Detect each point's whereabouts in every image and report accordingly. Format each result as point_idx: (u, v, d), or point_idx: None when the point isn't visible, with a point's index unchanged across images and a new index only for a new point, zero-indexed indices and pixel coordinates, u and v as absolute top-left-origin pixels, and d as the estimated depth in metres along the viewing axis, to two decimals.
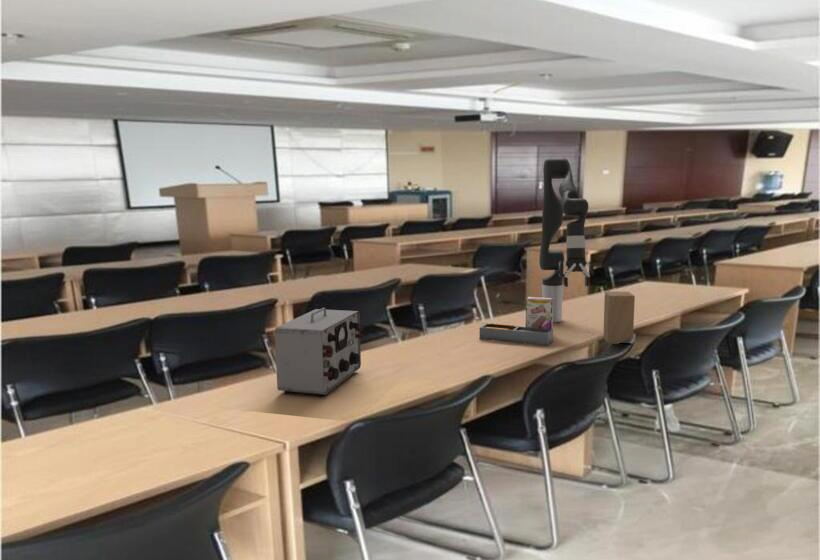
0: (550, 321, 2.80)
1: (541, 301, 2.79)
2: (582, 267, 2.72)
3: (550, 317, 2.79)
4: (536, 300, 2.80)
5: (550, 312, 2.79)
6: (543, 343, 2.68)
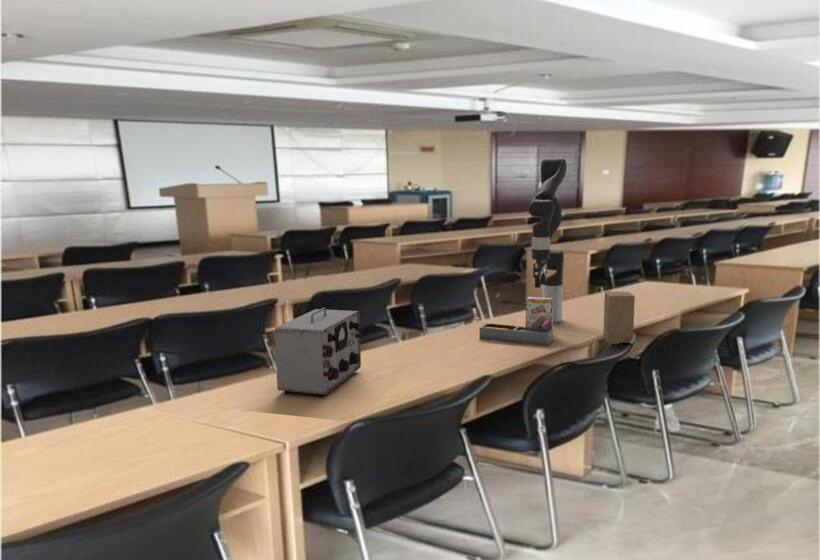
0: (550, 321, 2.80)
1: (541, 301, 2.79)
2: (545, 267, 2.81)
3: (550, 317, 2.79)
4: (536, 300, 2.80)
5: (550, 312, 2.79)
6: (543, 343, 2.68)
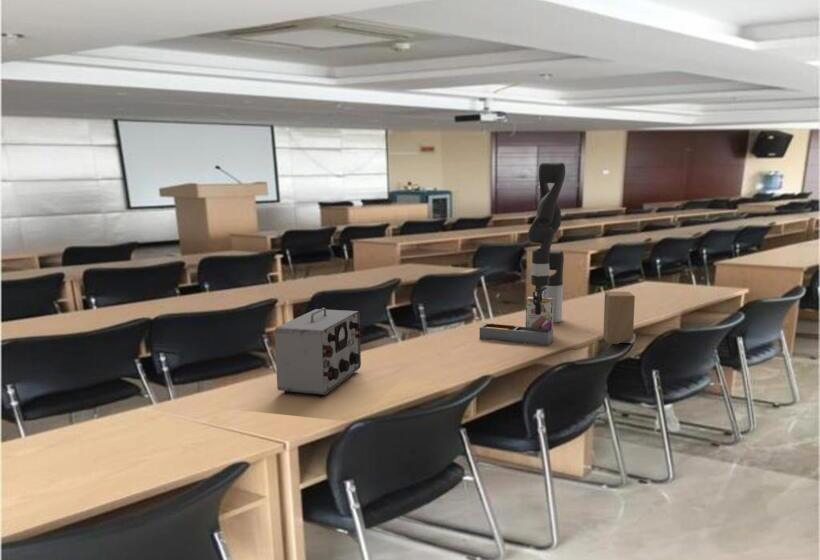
0: (550, 321, 2.80)
1: (541, 301, 2.79)
2: (545, 293, 2.82)
3: (550, 317, 2.79)
4: None
5: (550, 311, 2.79)
6: (543, 343, 2.68)
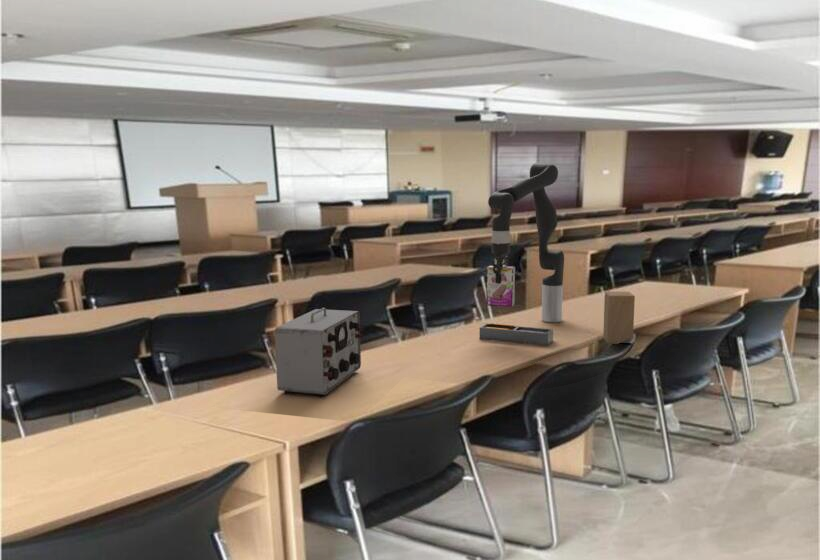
0: (511, 290, 2.74)
1: (502, 269, 2.73)
2: (505, 261, 2.76)
3: (511, 286, 2.73)
4: None
5: (511, 280, 2.73)
6: (543, 343, 2.68)
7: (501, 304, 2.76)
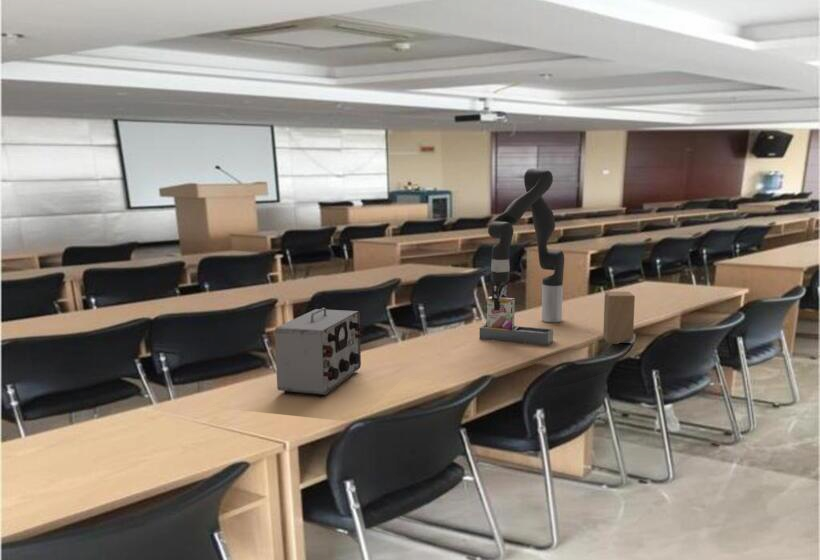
0: (510, 321, 2.76)
1: (501, 301, 2.75)
2: (505, 289, 2.78)
3: (510, 317, 2.75)
4: None
5: (510, 312, 2.75)
6: (543, 343, 2.68)
7: None
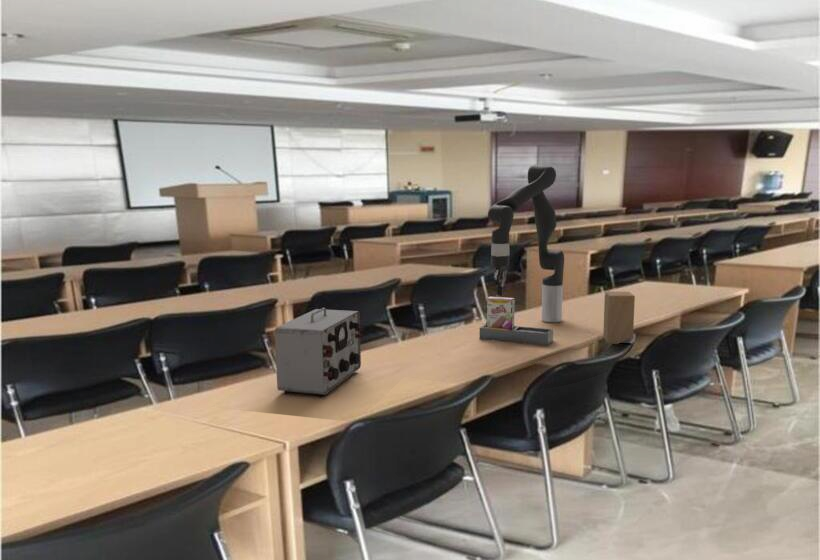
0: (510, 321, 2.76)
1: (501, 301, 2.75)
2: (505, 274, 2.76)
3: (510, 317, 2.75)
4: (496, 300, 2.76)
5: (510, 312, 2.75)
6: (543, 343, 2.68)
7: None
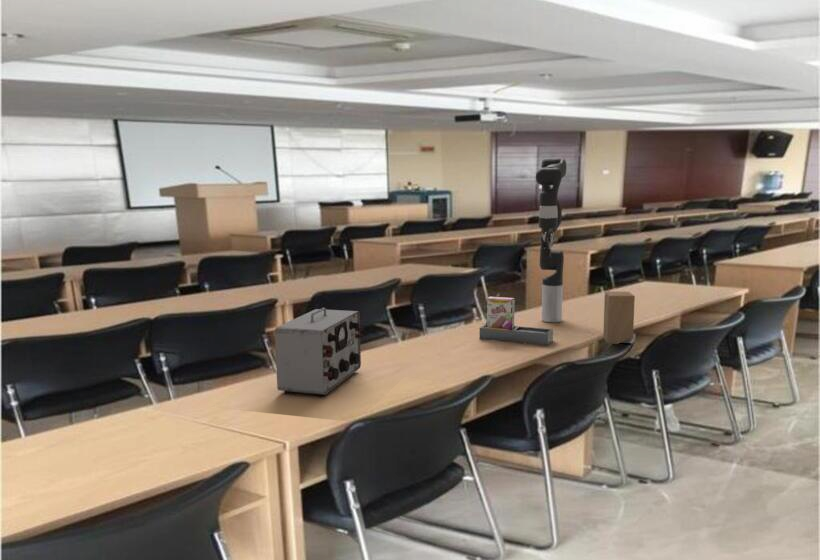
0: (510, 321, 2.76)
1: (501, 301, 2.75)
2: (552, 237, 2.79)
3: (510, 317, 2.75)
4: (496, 300, 2.76)
5: (510, 312, 2.75)
6: (543, 343, 2.68)
7: None
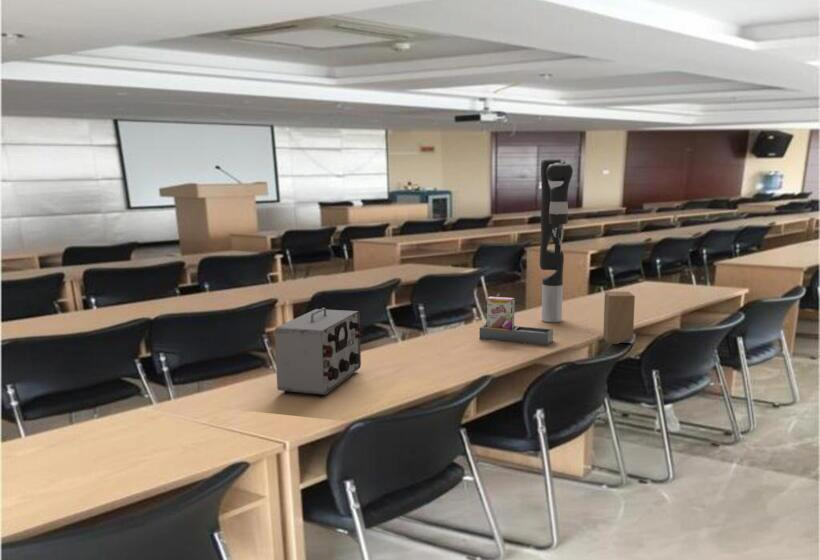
0: (510, 321, 2.76)
1: (501, 301, 2.75)
2: (562, 233, 2.80)
3: (510, 317, 2.75)
4: (496, 300, 2.76)
5: (510, 312, 2.75)
6: (543, 343, 2.68)
7: None
